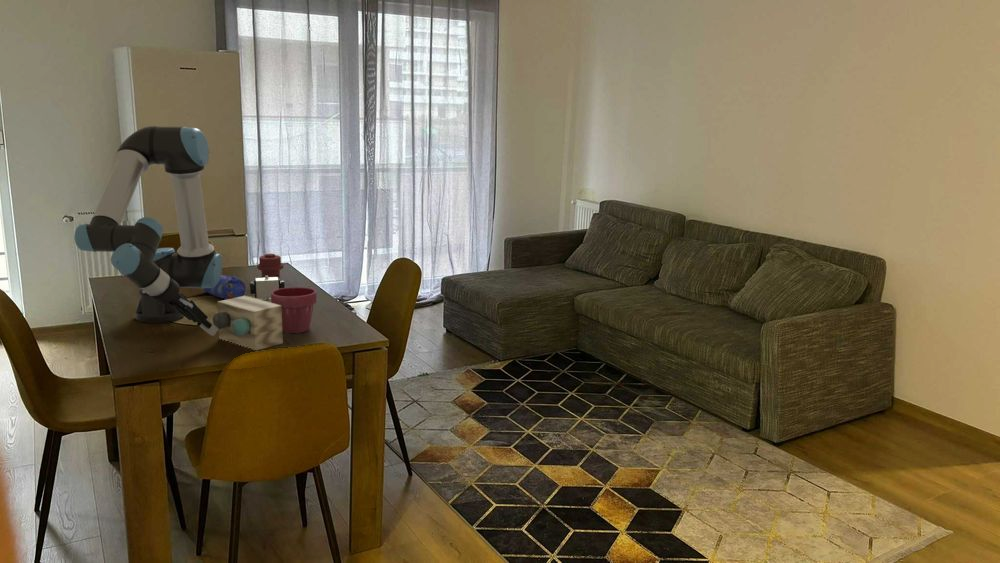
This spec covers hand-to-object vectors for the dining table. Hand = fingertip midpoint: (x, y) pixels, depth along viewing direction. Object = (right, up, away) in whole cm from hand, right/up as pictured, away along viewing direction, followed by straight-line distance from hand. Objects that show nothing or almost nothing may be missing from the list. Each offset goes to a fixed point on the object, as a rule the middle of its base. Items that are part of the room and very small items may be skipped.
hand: (214, 332), depth 236 cm
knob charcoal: (+4, +2, +6) cm, 7 cm away
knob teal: (+12, 0, 0) cm, 12 cm away
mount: (+9, -3, +5) cm, 11 cm away
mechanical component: (-6, +14, +79) cm, 80 cm away
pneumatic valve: (+3, +5, +43) cm, 44 cm away
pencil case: (-18, +9, +58) cm, 62 cm away
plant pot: (+19, -1, +19) cm, 27 cm away
